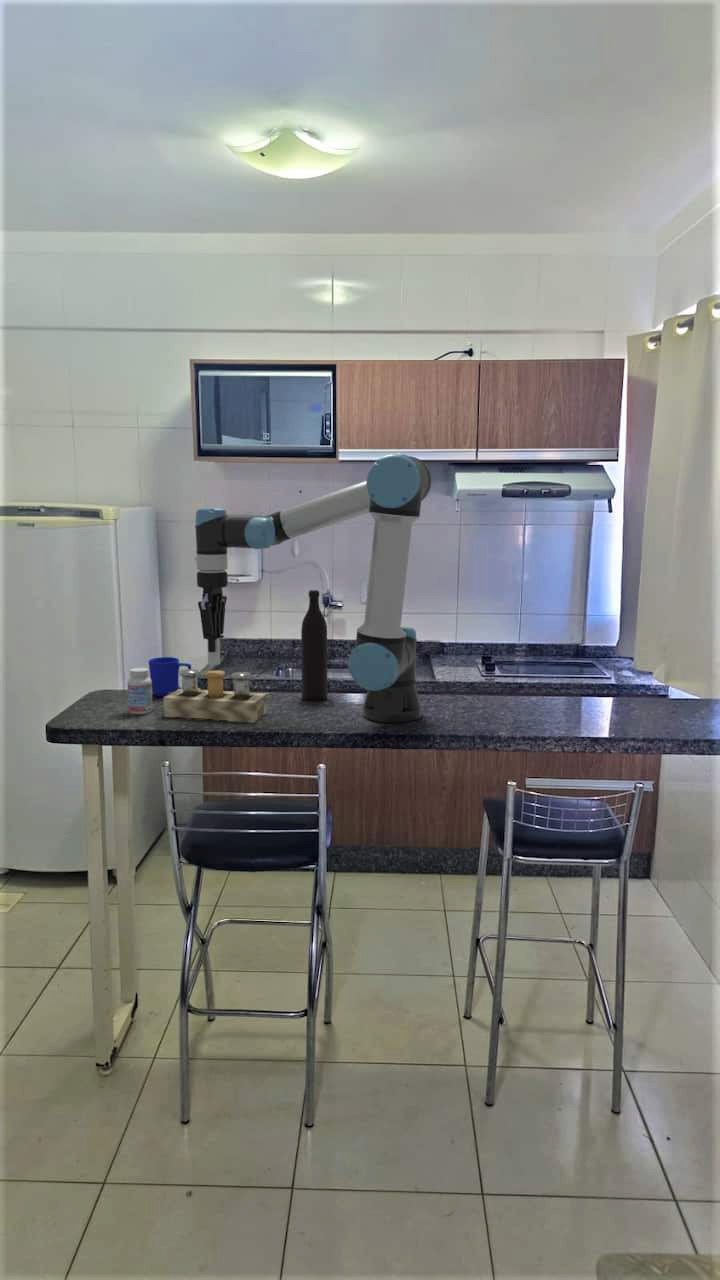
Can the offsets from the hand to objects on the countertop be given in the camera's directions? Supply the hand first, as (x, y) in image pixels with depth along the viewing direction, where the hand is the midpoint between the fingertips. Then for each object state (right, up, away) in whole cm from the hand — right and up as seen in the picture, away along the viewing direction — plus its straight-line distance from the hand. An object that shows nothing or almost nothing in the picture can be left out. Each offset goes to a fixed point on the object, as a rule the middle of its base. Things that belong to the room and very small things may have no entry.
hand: (214, 663), depth 202 cm
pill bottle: (-20, -13, +5) cm, 24 cm away
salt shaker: (-7, -8, +3) cm, 11 cm away
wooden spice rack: (0, -13, +2) cm, 13 cm away
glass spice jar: (+7, -9, 0) cm, 11 cm away
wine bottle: (+24, -10, +19) cm, 33 cm away
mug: (-16, -10, +22) cm, 29 cm away
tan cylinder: (0, -9, +1) cm, 9 cm away
